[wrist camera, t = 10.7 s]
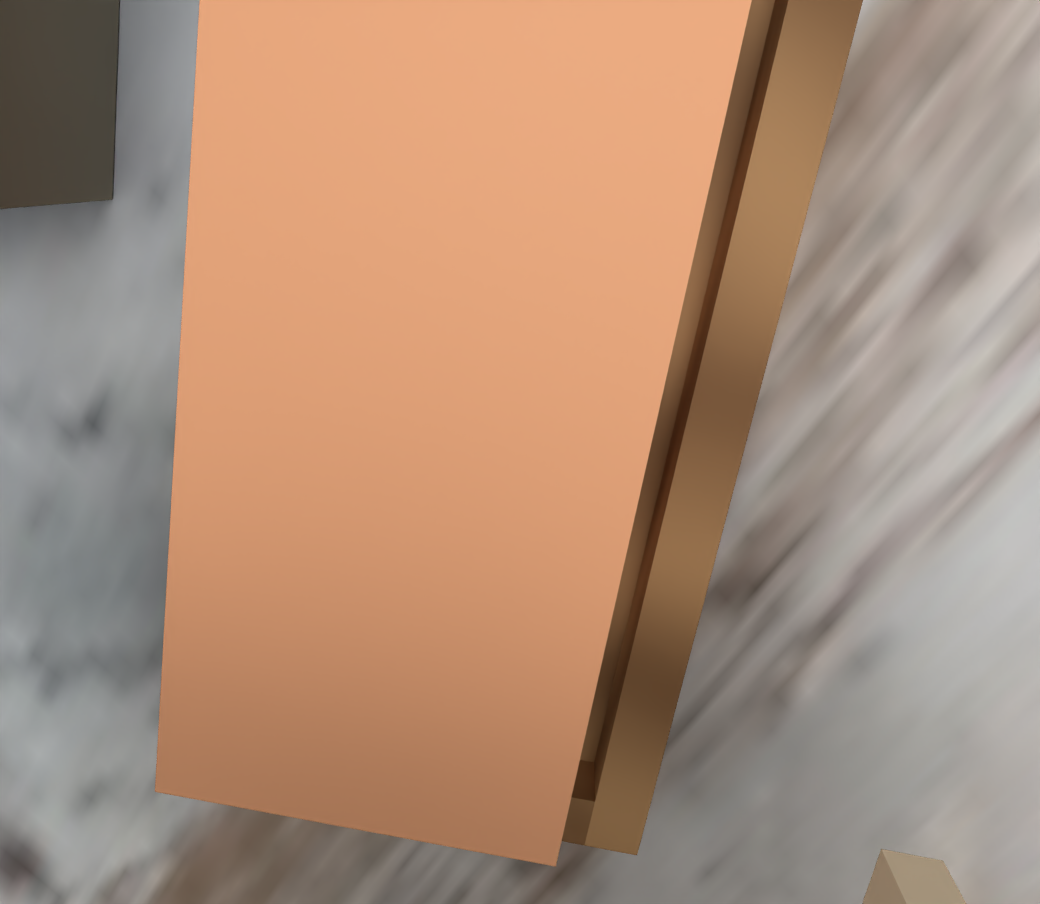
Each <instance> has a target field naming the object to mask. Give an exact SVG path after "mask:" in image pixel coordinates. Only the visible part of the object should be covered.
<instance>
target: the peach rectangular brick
mask: <svg viewBox="0 0 1040 904" xmlns="http://www.w3.org/2000/svg"><path fill="white" fill-rule="evenodd" d="M751 1H752V0H200V3H199V21H198V38H197V56H196V74H195V91H194V109H193V127H192V145H191V162H190V180H189V198H188V215H187V233H186V251H185V269H184V286H183V304H182V322H181V339H180V357H179V375H178V393H177V410H176V428H175V446H174V463H173V481H172V499H171V517H170V534H169V552H168V570H167V587H166V605H165V623H164V640H163V658H162V676H161V694H160V711H159V729H158V747H157V764H156V782H155V792H159V793H165V794H170V795H175V796H181V797H186V798H191V799H197V800H202V801H208V802H213V803H218V804H224V805H229V806H234V807H240V808H245V809H250V810H256V811H261V812H266V813H272V814H277V815H282V816H288V817H293V818H299V819H304V820H309V821H315V822H320V823H325V824H331V825H336V826H341V827H347V828H352V829H357V830H363V831H368V832H373V833H379V834H384V835H389V836H395V837H400V838H406V839H411V840H416V841H422V842H427V843H432V844H438V845H443V846H448V847H454V848H459V849H464V850H470V851H475V852H480V853H486V854H491V855H497V856H502V857H507V858H513V859H518V860H523V861H529V862H534V863H539V864H545V865H550V866H555V867H556V863H557V859H558V854H559V850H560V845H561V841H562V837H563V832H564V828H565V823H566V819H567V814H568V810H569V806H570V801H571V797H572V792H573V788H574V783H575V779H576V775H577V770H578V766H579V761H580V757H581V753H582V748H583V744H584V739H585V735H586V730H587V726H588V722H589V717H590V713H591V708H592V704H593V700H594V695H595V691H596V686H597V682H598V677H599V673H600V669H601V664H602V660H603V655H604V651H605V646H606V642H607V638H608V633H609V629H610V624H611V620H612V616H613V611H614V607H615V602H616V598H617V593H618V589H619V585H620V580H621V576H622V571H623V567H624V563H625V558H626V554H627V549H628V545H629V540H630V536H631V532H632V527H633V523H634V518H635V514H636V510H637V505H638V501H639V496H640V492H641V487H642V483H643V479H644V474H645V470H646V465H647V461H648V456H649V452H650V448H651V443H652V439H653V434H654V430H655V426H656V421H657V417H658V412H659V408H660V403H661V399H662V395H663V390H664V386H665V381H666V377H667V373H668V368H669V364H670V359H671V355H672V350H673V346H674V342H675V337H676V333H677V328H678V324H679V320H680V315H681V311H682V306H683V302H684V297H685V293H686V289H687V284H688V280H689V275H690V271H691V266H692V262H693V258H694V253H695V249H696V244H697V240H698V236H699V231H700V227H701V222H702V218H703V213H704V209H705V205H706V200H707V196H708V191H709V187H710V183H711V178H712V174H713V169H714V165H715V160H716V156H717V152H718V147H719V143H720V138H721V134H722V129H723V125H724V121H725V116H726V112H727V107H728V103H729V99H730V94H731V90H732V85H733V81H734V76H735V72H736V68H737V63H738V59H739V54H740V50H741V46H742V41H743V37H744V32H745V28H746V23H747V19H748V15H749V10H750V6H751Z"/></svg>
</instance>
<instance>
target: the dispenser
mask: <svg viewBox="0 0 1040 904" xmlns="http://www.w3.org/2000/svg"><path fill="white" fill-rule="evenodd" d="M118 24H119V0H0V209H4V208H16V207H29V206H41V205H53V204H65V203H77V202H90V201H102V200H112V194H113V166H114V137H115V109H116V81H117V53H118Z"/></svg>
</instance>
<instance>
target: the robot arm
mask: <svg viewBox="0 0 1040 904" xmlns="http://www.w3.org/2000/svg"><path fill="white" fill-rule="evenodd" d="M862 904H966V902H965V901H964V899H963V897H962V895H961V893H960V891H959V889H958V888H957V886H956V884H955V882H954V880H953V878H952V877H951V875H950V873H949V871H948V869H947V867H946V865H945V864H944V862H943V861H942V860H936V859H931V858H926V857H921V856H915V855H910V854H905V853H900V852H894V851H889V850H884V849H881V851H880V854H879V857H878V860H877V863H876V866H875V869H874V871H873V874H872V877H871V880H870V883H869V886H868V889H867V892H866V895H865V897H864V900H863V903H862Z"/></svg>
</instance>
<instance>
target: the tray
mask: <svg viewBox="0 0 1040 904" xmlns="http://www.w3.org/2000/svg"><path fill="white" fill-rule="evenodd" d="M862 2H863V0H752V1H751V6H750V10H749V15H748V19H747V23H746V28H745V32H744V37H743V41H742V46H741V50H740V54H739V59H738V63H737V68H736V72H735V76H734V81H733V85H732V90H731V94H730V99H729V103H728V107H727V112H726V116H725V121H724V125H723V129H722V134H721V138H720V143H719V147H718V152H717V156H716V160H715V165H714V169H713V174H712V178H711V183H710V187H709V191H708V196H707V200H706V205H705V209H704V213H703V218H702V222H701V227H700V231H699V236H698V240H697V244H696V249H695V253H694V258H693V262H692V266H691V271H690V275H689V280H688V284H687V289H686V293H685V297H684V302H683V306H682V311H681V315H680V320H679V324H678V328H677V333H676V337H675V342H674V346H673V350H672V355H671V359H670V364H669V368H668V373H667V377H666V381H665V386H664V390H663V395H662V399H661V403H660V408H659V412H658V417H657V421H656V426H655V430H654V434H653V439H652V443H651V448H650V452H649V456H648V461H647V465H646V470H645V474H644V479H643V483H642V487H641V492H640V496H639V501H638V505H637V510H636V514H635V518H634V523H633V527H632V532H631V536H630V540H629V545H628V549H627V554H626V558H625V563H624V567H623V571H622V576H621V580H620V585H619V589H618V593H617V598H616V602H615V607H614V611H613V616H612V620H611V624H610V629H609V633H608V638H607V642H606V646H605V651H604V655H603V660H602V664H601V669H600V673H599V677H598V682H597V686H596V691H595V695H594V700H593V704H592V708H591V713H590V717H589V722H588V726H587V730H586V735H585V739H584V744H583V748H582V753H581V757H580V761H579V766H578V770H577V775H576V779H575V783H574V788H573V792H572V797H571V801H570V806H569V810H568V814H567V819H566V823H565V828H564V832H563V837H562V841H564V842H570V843H575V844H580V845H585V846H591V847H596V848H601V849H606V850H612V851H617V852H622V853H627V854H633V855H637V853H638V849H639V846H640V842H641V838H642V834H643V830H644V827H645V823H646V819H647V815H648V811H649V808H650V804H651V800H652V796H653V793H654V789H655V785H656V781H657V777H658V774H659V770H660V766H661V762H662V759H663V755H664V751H665V747H666V743H667V740H668V736H669V732H670V728H671V724H672V721H673V717H674V713H675V709H676V706H677V702H678V698H679V694H680V690H681V687H682V683H683V679H684V675H685V671H686V668H687V664H688V660H689V656H690V653H691V649H692V645H693V641H694V637H695V634H696V630H697V626H698V622H699V619H700V615H701V611H702V607H703V603H704V600H705V596H706V592H707V588H708V584H709V581H710V577H711V573H712V569H713V566H714V562H715V558H716V554H717V550H718V547H719V543H720V539H721V535H722V531H723V528H724V524H725V520H726V516H727V513H728V509H729V505H730V501H731V497H732V494H733V490H734V486H735V482H736V478H737V475H738V471H739V467H740V463H741V460H742V456H743V452H744V448H745V444H746V441H747V437H748V433H749V429H750V426H751V422H752V418H753V414H754V410H755V407H756V403H757V399H758V395H759V391H760V388H761V384H762V380H763V376H764V373H765V369H766V365H767V361H768V357H769V354H770V350H771V346H772V342H773V338H774V335H775V331H776V327H777V323H778V320H779V316H780V312H781V308H782V304H783V301H784V297H785V293H786V289H787V286H788V282H789V278H790V274H791V270H792V267H793V263H794V259H795V255H796V251H797V248H798V244H799V240H800V236H801V233H802V229H803V225H804V221H805V217H806V214H807V210H808V206H809V202H810V198H811V195H812V191H813V187H814V183H815V180H816V176H817V172H818V168H819V164H820V161H821V157H822V153H823V149H824V146H825V142H826V138H827V134H828V130H829V127H830V123H831V119H832V115H833V111H834V108H835V104H836V100H837V96H838V93H839V89H840V85H841V81H842V77H843V74H844V70H845V66H846V62H847V58H848V55H849V51H850V47H851V43H852V40H853V36H854V32H855V28H856V24H857V21H858V17H859V13H860V9H861V6H862Z"/></svg>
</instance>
